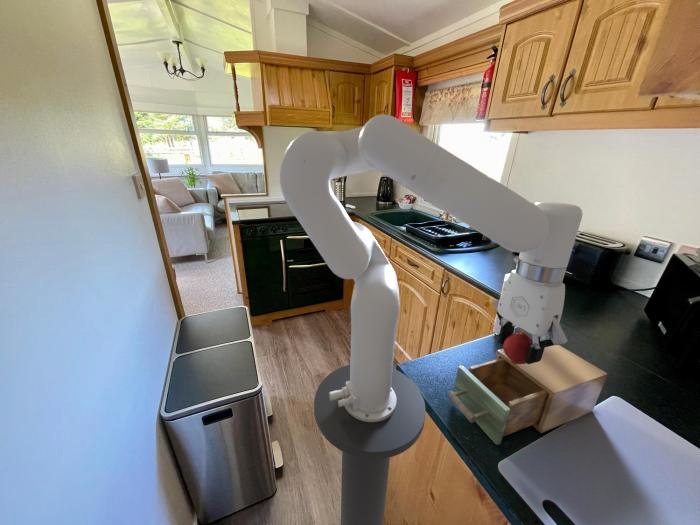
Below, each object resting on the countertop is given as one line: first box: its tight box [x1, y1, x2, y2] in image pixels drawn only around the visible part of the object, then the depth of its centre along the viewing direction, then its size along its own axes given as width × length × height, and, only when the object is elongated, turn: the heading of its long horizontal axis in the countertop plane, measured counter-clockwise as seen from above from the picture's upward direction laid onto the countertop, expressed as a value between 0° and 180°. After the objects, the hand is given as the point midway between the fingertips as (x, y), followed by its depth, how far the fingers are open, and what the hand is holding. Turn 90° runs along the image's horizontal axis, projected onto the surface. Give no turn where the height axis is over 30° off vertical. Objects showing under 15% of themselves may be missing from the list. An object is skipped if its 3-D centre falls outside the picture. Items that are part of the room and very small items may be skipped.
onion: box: [502, 329, 533, 364], centre depth 59 cm, size 6×6×8 cm
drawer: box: [446, 358, 549, 446], centre depth 63 cm, size 20×13×9 cm, turn 111°
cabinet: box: [494, 338, 609, 434], centre depth 68 cm, size 17×14×11 cm
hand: (517, 351), depth 59 cm, fingers closed on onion, 5 cm apart
